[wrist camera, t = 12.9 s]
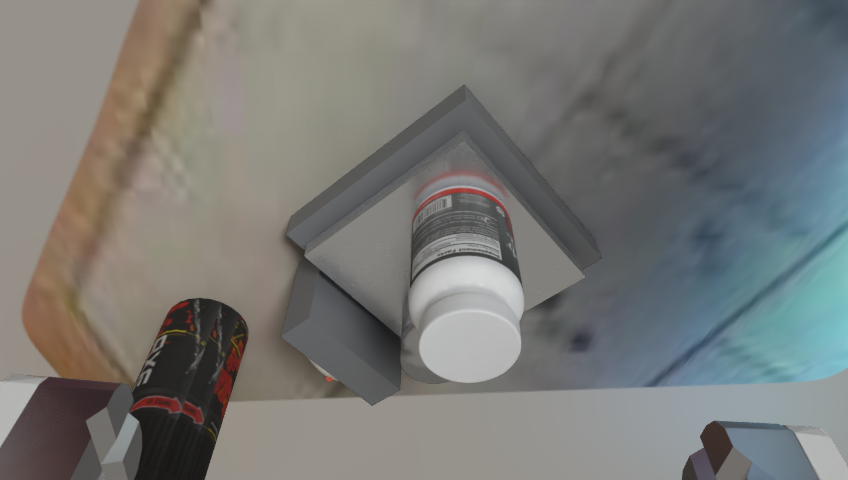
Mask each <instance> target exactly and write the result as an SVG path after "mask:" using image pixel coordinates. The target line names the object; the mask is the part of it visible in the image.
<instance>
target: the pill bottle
mask: <svg viewBox="0 0 848 480" xmlns="http://www.w3.org/2000/svg"><path fill="white" fill-rule="evenodd" d="M408 306H409V313H410V317H411V319H412V322H413V324H414V325H415V327H416V329H417V330H418V349H419V354H420V357H421V359H422V361H423V362H424V364H425V365H426V366H427V367H428V369H430V370H431V371H432V372H433V373H435V374H436V375H438V376H440V377H442V378H444V379H447V380H451V381H454V382H461V383H476V382H482V381H486V380H490V379H493V378H495V377H497V376H499V375H501V374H503V373H504V372H506V371H507V370H508V369H509V368H511V366H512V365H513V364H514V363H515V362H516V360H517V358H518V356H519V354H520V350H521V336H520V324H519V321H520V319H521V317H522V314H523V309H524V291H523V285H522V280H521V274H520V269H519V263H518V258H517V252H516V246H515V240H514V234H513V229H512V224H511V220H510V217H509V214H508V212H507V210H506V208H505V206H504V205H503V204H502V202H501V201H500V200H499V199H498V198H497V197H495V196H494V195H493V194H491V193H489V192H488V191H485V190H483V189H480V188H477V187H473V186H464V185H461V186H451V187H446V188H443V189H441V190H438V191H436V192H434V193H433V194H431V195H429V196H428V197H427V198H426V199H424V200H423V202H422V203H421V204H420V205H419V206H418V208H417V210H416V211H415V213H414V216H413V218H412V222H411V234H410V266H409V291H408Z"/></svg>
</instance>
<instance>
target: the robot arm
mask: <svg viewBox="0 0 848 480" xmlns="http://www.w3.org/2000/svg"><path fill="white" fill-rule="evenodd" d="M133 401H134V399H133V396H132V393H131V389H130V386H129V384H123V383H113V382H102V381H91V380H80V379H69V378H58V377H44V376H31V375H18V374H10V375H9V376H7V377H6V378H5V379H3V380H2V381H0V480H134V478H135V475H136V473H137V470H138V466H139V461H140V456H141V451H142V432H141V427H140V423H139V421H138V420H137V419H136V418H134V417H133V416H132V415H131V414H129V413H128V412H129V410H130V408H131V406H132V403H133ZM700 438H701V440H702V443H703V446H704V448H702V449H701V450H699V451H697V452H695V453H694V454H692V455H691V456H689V458H688V461H687V463H686V465H685V467H684V469H683V474H682V480H848V467H847V465H846V464H845V462H844V460H843V458H842V457H841V455H840V453H839V452H838V450H837V448H836V446H835V445H834V443H833V441H832V440H831V438H830V437H829V435H828V434H827V433H826V432H825V431H823V430H822V429H821V428H820V427H805V426H790V425H779V424H767V423H748V422H728V421H713V422H711V423H710V424H708V425H706V427H705V429H704V430H703V432H702V434H701V436H700Z"/></svg>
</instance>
